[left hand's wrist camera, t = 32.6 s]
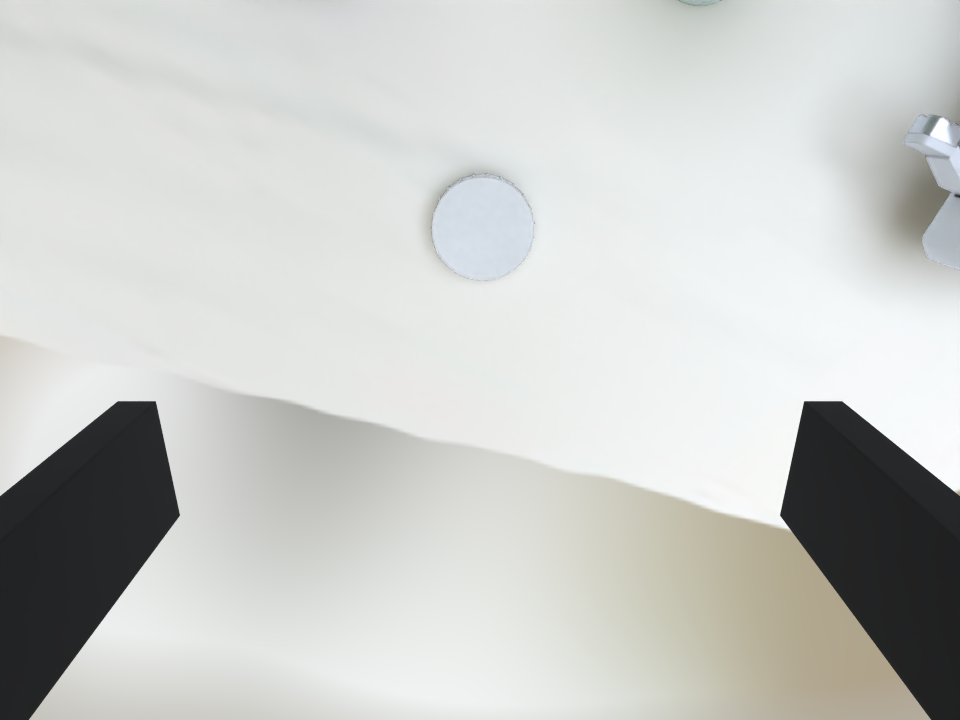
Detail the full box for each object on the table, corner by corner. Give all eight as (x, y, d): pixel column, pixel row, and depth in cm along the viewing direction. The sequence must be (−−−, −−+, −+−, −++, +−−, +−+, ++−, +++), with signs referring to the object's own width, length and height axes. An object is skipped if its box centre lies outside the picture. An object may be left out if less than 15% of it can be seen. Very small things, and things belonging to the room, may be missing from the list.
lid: (414, 201, 40) (411, 205, 38) (506, 154, 39) (508, 156, 37) (460, 289, 42) (459, 298, 40) (548, 247, 41) (552, 254, 39)
